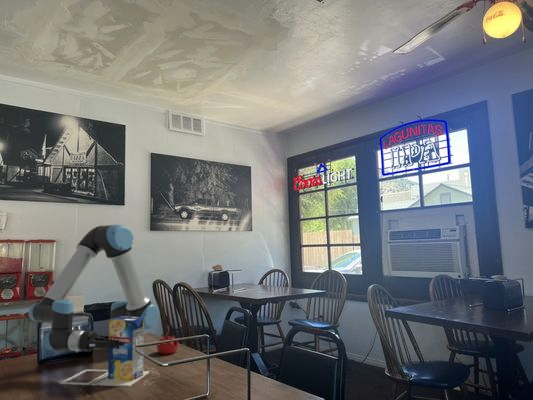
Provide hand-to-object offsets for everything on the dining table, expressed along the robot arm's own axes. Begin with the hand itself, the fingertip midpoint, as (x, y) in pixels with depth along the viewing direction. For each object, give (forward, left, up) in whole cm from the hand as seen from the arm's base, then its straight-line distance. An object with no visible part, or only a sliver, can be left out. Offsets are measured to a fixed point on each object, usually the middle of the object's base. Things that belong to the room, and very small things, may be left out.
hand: (139, 342), depth 152 cm
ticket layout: (0, -13, -14) cm, 19 cm away
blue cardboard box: (0, -5, -13) cm, 14 cm away
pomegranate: (-37, -4, -14) cm, 40 cm away
